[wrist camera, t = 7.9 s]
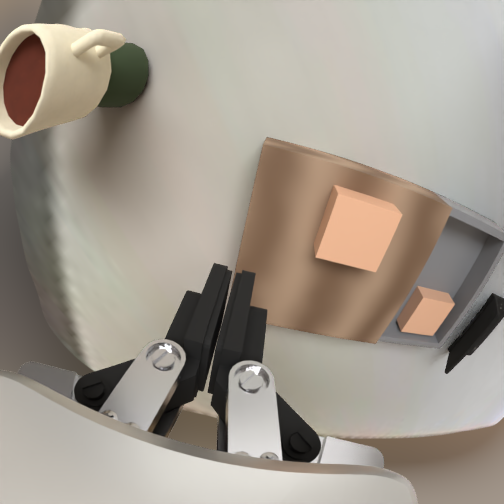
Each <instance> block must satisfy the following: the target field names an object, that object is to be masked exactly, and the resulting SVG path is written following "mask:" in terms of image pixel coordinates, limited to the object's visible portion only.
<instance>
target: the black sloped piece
mask: <svg viewBox="0 0 504 504" xmlns="http://www.w3.org/2000/svg"><path fill="white" fill-rule="evenodd" d="M503 317H504V298H501V297H499V296H497V295H495V294H493V293H492V294H491V296H490V297H489V299H488V300H487V302H486V303H485V304H484V306H483V307H482V310H480V312H478V314H477V315H476V316H475V317H474V319H473V320H472V321H471V322H470V324H469V325H468V326H467V327H466V329H465V330H464V331H463V332H462V333H461V336H459V337H458V338H457V339H456V340H455V342H454V343H453V344H452V345H451V346H450V347H449V348H448V350H449V352H450V353H449V356H448V360H447V365H446V369H445V373H446V374H448V373H449V372H450V371H451V370H452V369H453V368H454V367H455V366H456V365H457V364H458V363H459V362H460V361H461V360H462V359H463V358H464V357H465V356H466V355H471V354H472V353H473V352H474V351H475V350H476V349H477V348H478V347H479V346H480V345H481V344H482V342H483V341H484V340H485V339H486V338H487V337H488V336H489V334H490V333H491V332H492V331H493V330H494V328H495V327H496V326H497V325H498V323H499V322H500V321H501V320H502V318H503Z"/></svg>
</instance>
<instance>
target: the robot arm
mask: <svg viewBox="0 0 504 504" xmlns="http://www.w3.org/2000/svg"><path fill="white" fill-rule="evenodd" d="M227 268H228V266H224V265H220V264H216V263H214V265H213V267H212V269H211V272H210V274H209V277H208V279H207V282H206V284H205V287H204V289H203V292H202V294H200V293H196V292H192V291H187V292H186V294H185V296H184V298H183V300H182V302H181V304H180V307H179V309H178V311H177V313H176V315H175V317H174V320H173V322H172V324H171V326H170V329H169V331H168V333H167V335H166V338H165V339H158V340H153V341H151V342H149V343H148V344H147V345H146V346H145V347H144V348H143V349H142V350H141V352H140V353H139V355H138V356H137V357H136V359H133V360H130V361H127V362H124V363H121V364H118V365H115V366H112V367H108V368H105V369H102V370H99V371H96V372H92V373H89V374H86V375H84V376H79V375H77V373H76V372H72V371H67V370H63V369H59V368H55V367H52V366H48V365H44V364H40V363H37V362H28V363H25V364H24V365H22V366H21V368H20V369H19V371H18V373H14V372H10V371H4V370H0V504H418V501H417V496H416V493H415V490H414V488H413V486H412V484H411V483H410V482H409V480H408V479H406V478H405V477H403V476H402V475H400V474H398V473H395V472H392V471H390V470H387V469H383V468H384V457H383V455H382V454H381V452H380V451H379V450H378V449H376V448H374V447H371V446H366V445H362V444H357V443H353V442H349V441H345V440H341V439H337V438H333V437H329V436H327V437H325V438H324V437H321V436H318V435H317V434H316V432H315V431H314V430H313V429H312V428H311V427H310V426H309V425H308V424H307V423H306V422H305V421H304V420H303V419H302V418H301V417H300V416H299V415H298V414H297V413H296V412H295V411H294V410H293V409H292V408H291V407H290V406H289V405H288V404H287V403H286V402H285V401H284V400H283V399H282V398H281V397H280V396H279V395H278V393H277V392H276V390H275V380H274V376H273V374H272V372H271V371H270V369H269V368H267V367H266V366H265V365H263V364H262V358H263V349H264V340H265V331H266V322H267V309H263V308H259V307H254V306H250V303H251V298H252V292H253V286H254V281H255V275H256V273H254V272H249V271H245V270H242V273H238V272H236V275H235V278H234V282H233V286H232V289H231V293H230V297H229V300H228V304H227V308H226V311H225V315H224V310H225V304H226V299H227V294H228V289H229V284H230V279H231V274H232V271H229V270H227ZM223 315H224V319H223ZM222 320H223V322H222ZM221 324H222V326H221ZM220 328H221V330H220ZM219 331H220V333H219ZM218 335H219V337H218ZM217 339H218V341H217ZM216 343H217V345H216ZM215 346H216V349H215ZM214 350H215V355H214V360H213V365H212V371H211V377H210V382H209V388H208V393H211V394H213V396H212V401H211V406H212V407H213V408H214V410H215V411H216V412H217V414H218V420H217V421H218V422H217V450H211V449H208V448H203V447H199V446H195V445H191V444H187V443H183V442H180V441H176V440H173V439H169V438H168V436H169V434H170V432H171V430H172V428H173V426H174V425H175V423H176V421H177V418H178V416H179V414H180V413H181V411H182V409H183V406H184V404H186V403H188V402H191V401H193V400H194V397H196V396H197V392H198V390H199V391H204V387H205V383H206V380H207V376H208V372H209V368H210V365H211V361H212V357H213V354H214Z"/></svg>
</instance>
